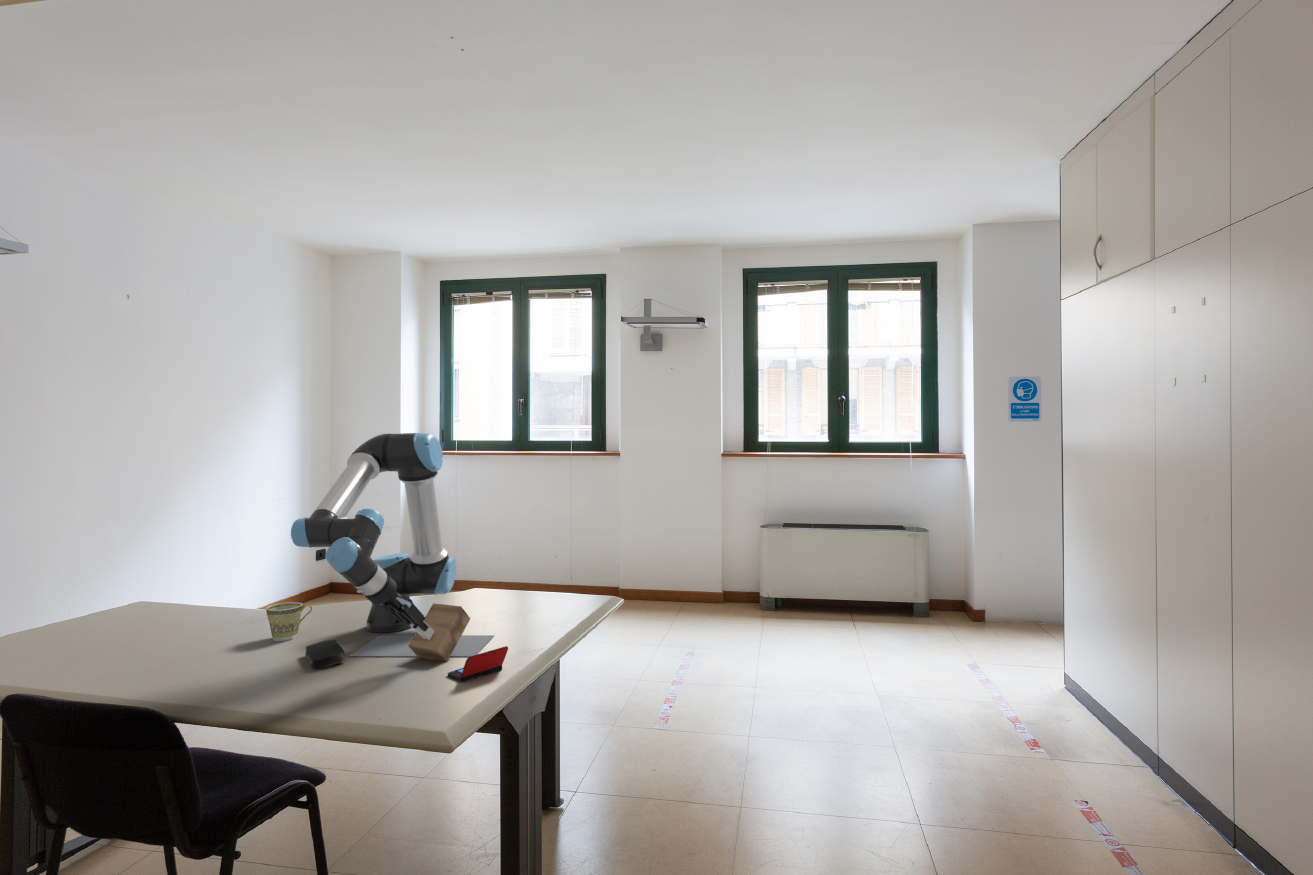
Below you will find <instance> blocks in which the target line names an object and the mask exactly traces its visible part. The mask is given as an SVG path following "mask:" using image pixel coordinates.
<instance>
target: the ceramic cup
mask: <svg viewBox="0 0 1313 875" xmlns="http://www.w3.org/2000/svg"><path fill="white" fill-rule="evenodd" d="M306 607H310V610H309V611H308V612H306V614H305V615H304V616H303V617H302V612H303V610H304V609H305V608H306ZM312 610H313V607H312V605H311V604H304V605H303V603H302V602H299V601H298V602H295V601H293V602H289V601H288V602H280V603H276V604H275V603H274V604H271V605H269V606H266V608H265V611H266V617H267V621H268V623H269V628H270V632H271V637H272V640H273V641H274V642H286V641H292V640H294V639H296V638H297V637H298V634H299V629H300V625H301V623H302V622H303V620H305V618H306V617H307V616H308V615H309V614H311V612H312ZM301 617H302V619H301Z"/></svg>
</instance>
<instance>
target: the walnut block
mask: <svg viewBox="0 0 1313 875" xmlns="http://www.w3.org/2000/svg"><path fill="white" fill-rule="evenodd" d="M424 617H425V620H424V621H425V622H426V623H427V624H428V625H429V626H430V627H431V628H432V629H433V630H434V631H435V632H434V634H433V635H432V637H431V638H430V640H428V639H423V638H422V637H421V636H420V635H419V634H418V633H417V632H416V631H415V633H414V637H413V639H412V640H411V642H410V644H409V645H408V646H409V647H410V649H411V650H412V651H413V652H414V653H415V654H416V655H417V656H418V657H417V658H419V659H425V660H432V661H438V662H439V661H440V662H446V663H448V661H449V660H450V658H451V657H450V656H451V654H452V652H453V650H454V648H455V646H456V645H457V643H458V641H459V639H460V637H461V635H463V633H464V632H465V629H466V628H467V626H468V625H469V622H470V620H471V617H470V616H469V615H468V613H467V612H466V611H465V609H464V608H463V607H462V605H461V606H459V605H453V604H452V605H451V604H444V603H443V604H442V603H432V604H431V606H430V608H429V610H428V611H427V613H426V615H425V616H424Z"/></svg>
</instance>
